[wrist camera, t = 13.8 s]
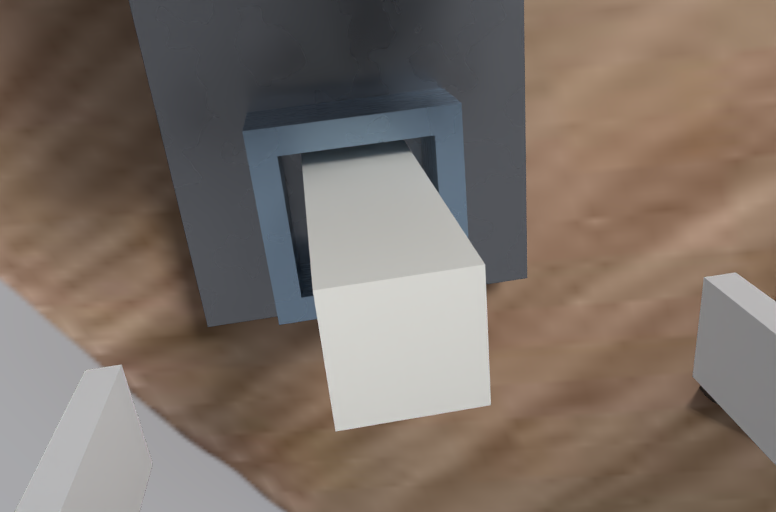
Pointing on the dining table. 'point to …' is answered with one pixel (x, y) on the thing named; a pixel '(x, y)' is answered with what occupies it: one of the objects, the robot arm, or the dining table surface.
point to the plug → (393, 288)
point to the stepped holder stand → (330, 126)
